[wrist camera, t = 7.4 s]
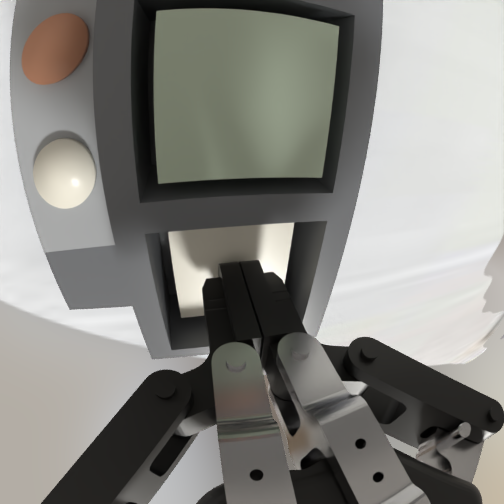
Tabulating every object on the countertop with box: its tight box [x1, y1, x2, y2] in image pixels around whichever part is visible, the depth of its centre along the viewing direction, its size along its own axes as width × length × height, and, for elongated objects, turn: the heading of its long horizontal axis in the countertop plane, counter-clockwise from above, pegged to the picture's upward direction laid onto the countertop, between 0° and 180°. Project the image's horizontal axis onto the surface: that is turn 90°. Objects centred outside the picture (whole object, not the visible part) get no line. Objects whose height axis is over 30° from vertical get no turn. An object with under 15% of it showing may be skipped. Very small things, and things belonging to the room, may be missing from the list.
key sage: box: [154, 8, 339, 184], centre depth 7 cm, size 5×5×2 cm
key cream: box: [168, 223, 294, 318], centre depth 12 cm, size 5×5×2 cm
